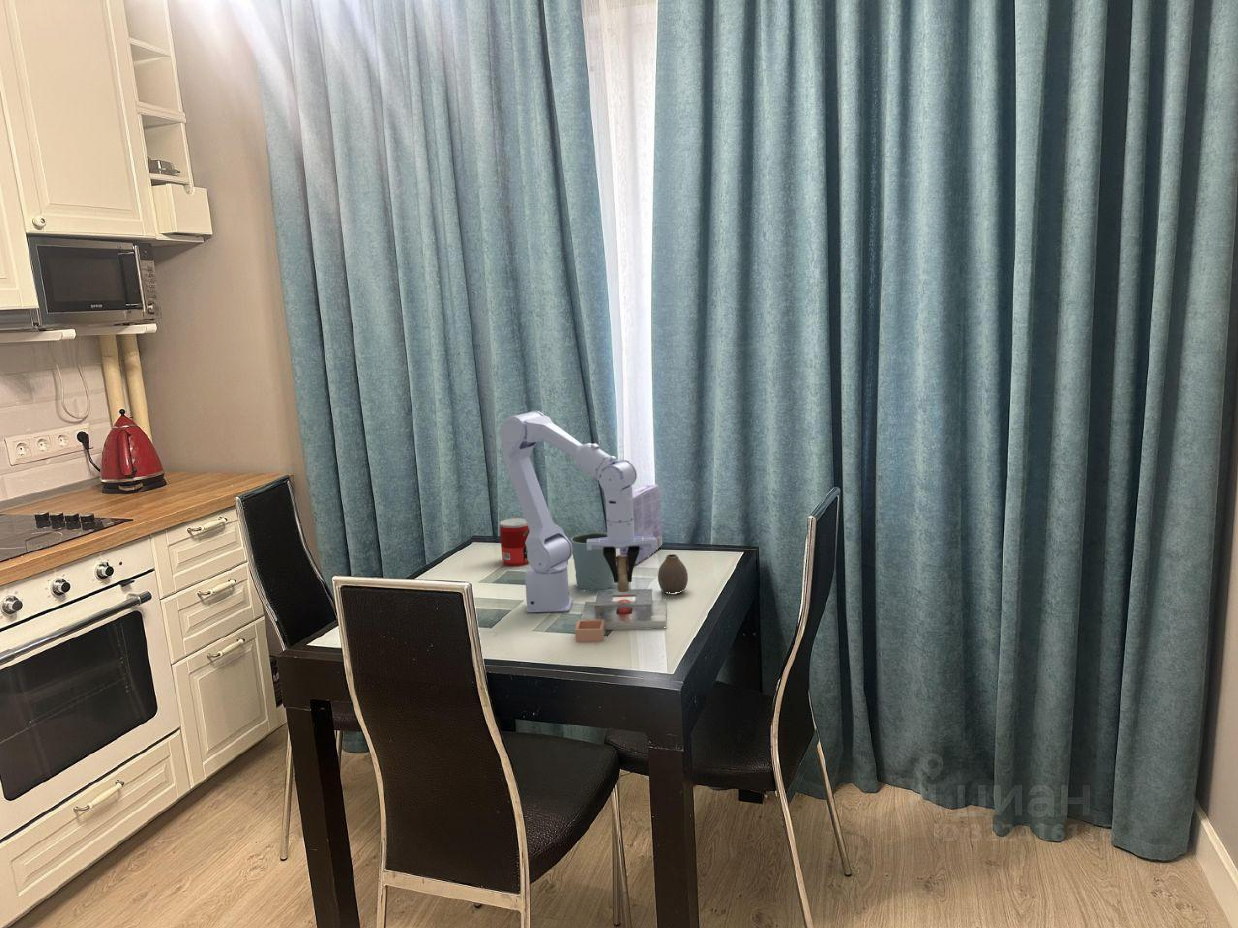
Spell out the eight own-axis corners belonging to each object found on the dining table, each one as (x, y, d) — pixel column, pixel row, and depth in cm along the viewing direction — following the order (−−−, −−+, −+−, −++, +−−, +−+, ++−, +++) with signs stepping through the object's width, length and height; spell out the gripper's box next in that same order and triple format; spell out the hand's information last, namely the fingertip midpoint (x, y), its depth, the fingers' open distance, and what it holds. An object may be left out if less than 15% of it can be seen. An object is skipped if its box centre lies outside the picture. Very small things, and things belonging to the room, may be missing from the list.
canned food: (531, 565, 237) (528, 524, 235) (500, 566, 237) (497, 526, 235) (534, 557, 244) (531, 517, 242) (504, 558, 245) (501, 518, 243)
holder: (575, 641, 184) (574, 630, 184) (578, 631, 190) (577, 620, 189) (603, 641, 184) (602, 629, 183) (605, 630, 189) (604, 619, 189)
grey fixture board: (580, 630, 190) (578, 610, 190) (585, 608, 203) (584, 589, 202) (666, 628, 189) (665, 608, 188) (666, 606, 202) (665, 587, 201)
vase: (663, 598, 208) (662, 561, 206) (654, 589, 214) (653, 553, 213) (692, 594, 209) (691, 557, 208) (682, 585, 216) (681, 549, 214)
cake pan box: (648, 544, 251) (646, 482, 248) (665, 546, 249) (663, 483, 246) (618, 565, 234) (615, 498, 231) (636, 566, 232) (633, 499, 229)
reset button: (617, 615, 195) (617, 604, 194) (618, 610, 198) (617, 599, 197) (630, 614, 195) (630, 603, 194) (631, 610, 197) (630, 599, 197)
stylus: (617, 592, 194) (616, 558, 192) (618, 588, 196) (616, 555, 195) (628, 591, 194) (627, 557, 192) (629, 588, 196) (627, 554, 195)
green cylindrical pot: (610, 593, 213) (607, 543, 211) (568, 592, 215) (565, 542, 213) (618, 579, 223) (616, 531, 220) (578, 578, 225) (576, 531, 222)
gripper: (584, 524, 189) (587, 587, 191) (654, 522, 188) (656, 585, 190) (587, 516, 196) (590, 577, 198) (654, 514, 195) (657, 575, 197)
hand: (623, 580), depth 195 cm, fingers closed on stylus, 2 cm apart
